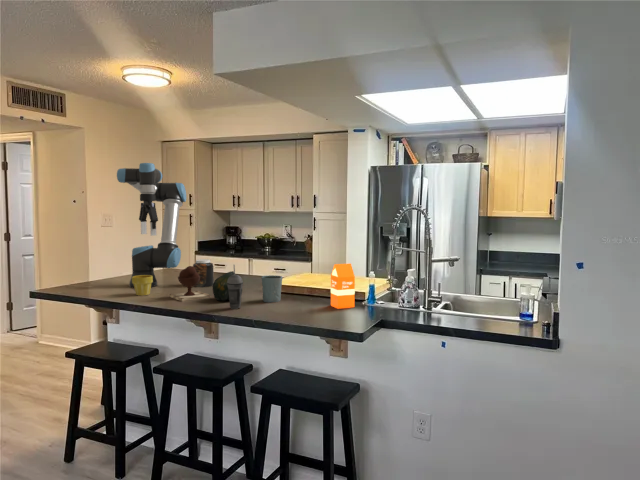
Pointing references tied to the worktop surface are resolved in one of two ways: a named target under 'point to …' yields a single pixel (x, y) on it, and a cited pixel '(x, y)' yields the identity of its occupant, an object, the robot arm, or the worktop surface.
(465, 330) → the worktop surface
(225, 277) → the squash
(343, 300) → the orange juice
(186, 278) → the ice cream bowl
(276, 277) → the blue-grey cup
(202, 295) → the trivet
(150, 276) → the plant pot
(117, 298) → the worktop surface
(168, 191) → the robot arm
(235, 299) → the beverage cup
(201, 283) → the jar
